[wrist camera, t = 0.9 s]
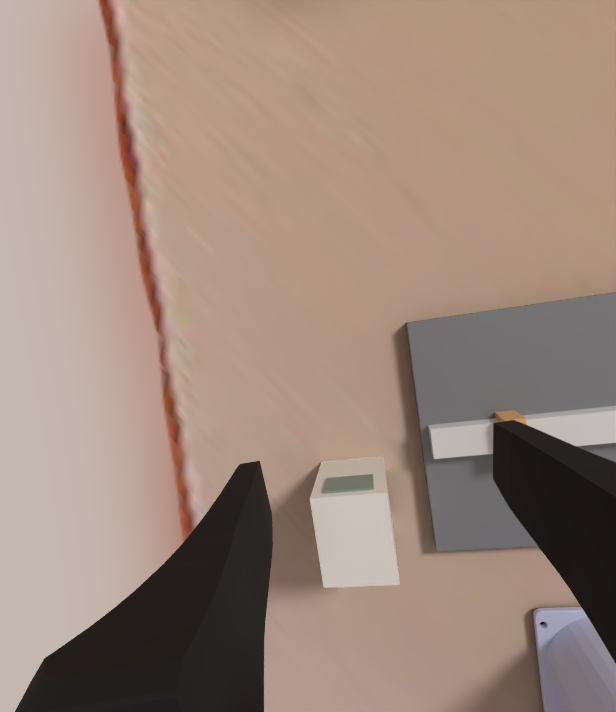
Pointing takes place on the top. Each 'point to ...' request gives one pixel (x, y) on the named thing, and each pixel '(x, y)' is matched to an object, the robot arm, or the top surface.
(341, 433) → the top surface
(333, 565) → the block
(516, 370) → the mounting board
